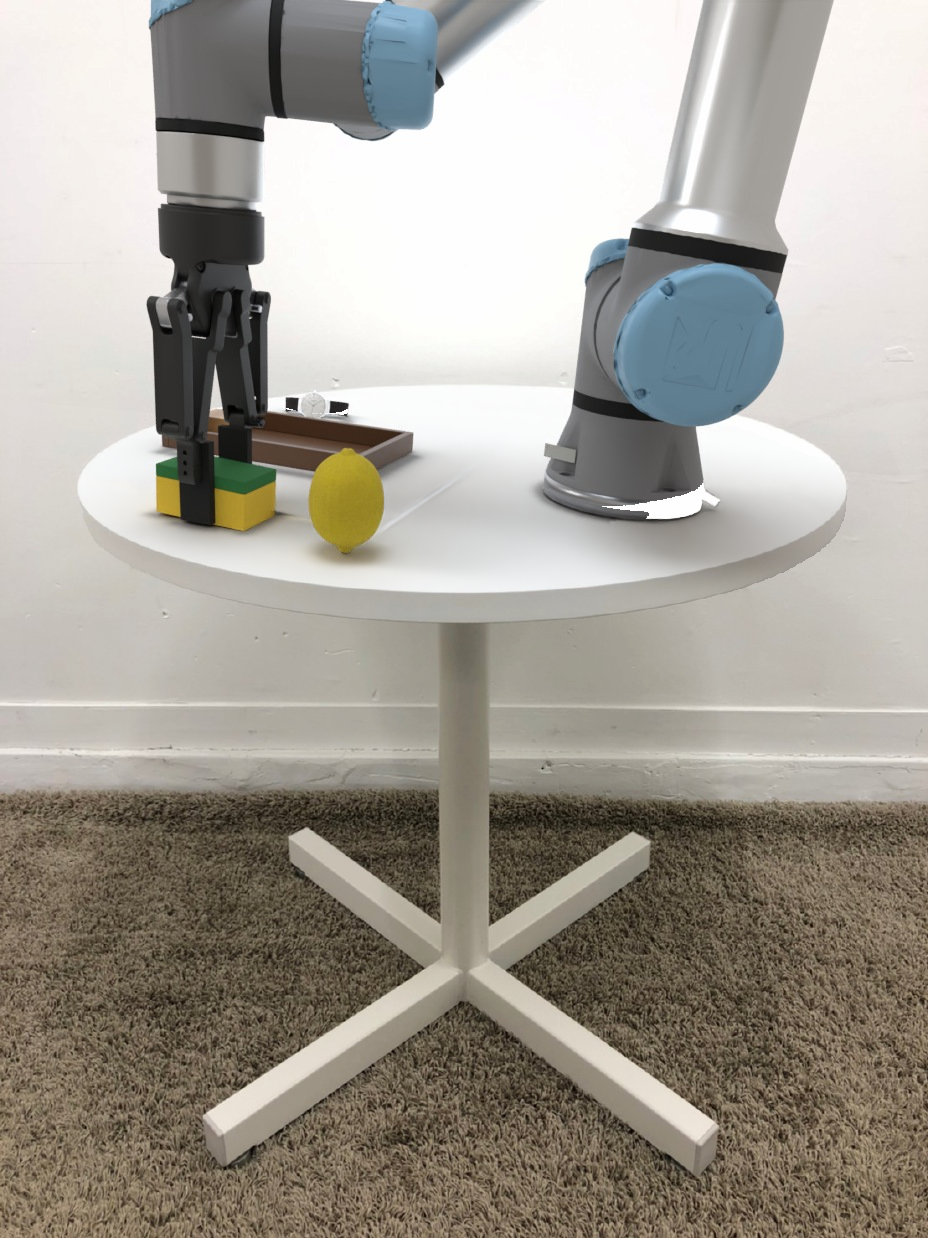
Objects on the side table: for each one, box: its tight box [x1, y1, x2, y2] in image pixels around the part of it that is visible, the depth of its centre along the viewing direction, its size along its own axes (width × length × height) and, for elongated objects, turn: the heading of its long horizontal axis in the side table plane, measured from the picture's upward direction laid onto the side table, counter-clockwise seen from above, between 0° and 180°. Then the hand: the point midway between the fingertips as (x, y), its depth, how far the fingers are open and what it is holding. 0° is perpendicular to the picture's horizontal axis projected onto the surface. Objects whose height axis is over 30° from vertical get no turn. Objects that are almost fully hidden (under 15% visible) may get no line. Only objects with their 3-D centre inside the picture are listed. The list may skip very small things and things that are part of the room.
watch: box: [285, 389, 350, 419], centre depth 117 cm, size 8×5×4 cm, turn 85°
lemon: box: [308, 448, 385, 554], centre depth 71 cm, size 6×6×8 cm
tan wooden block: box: [208, 408, 229, 433], centre depth 101 cm, size 4×4×2 cm
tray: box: [161, 408, 414, 473], centre depth 99 cm, size 22×14×3 cm, turn 72°
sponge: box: [155, 455, 277, 532], centre depth 78 cm, size 5×8×4 cm, turn 72°
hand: (217, 511), depth 79 cm, fingers closed on sponge, 5 cm apart
